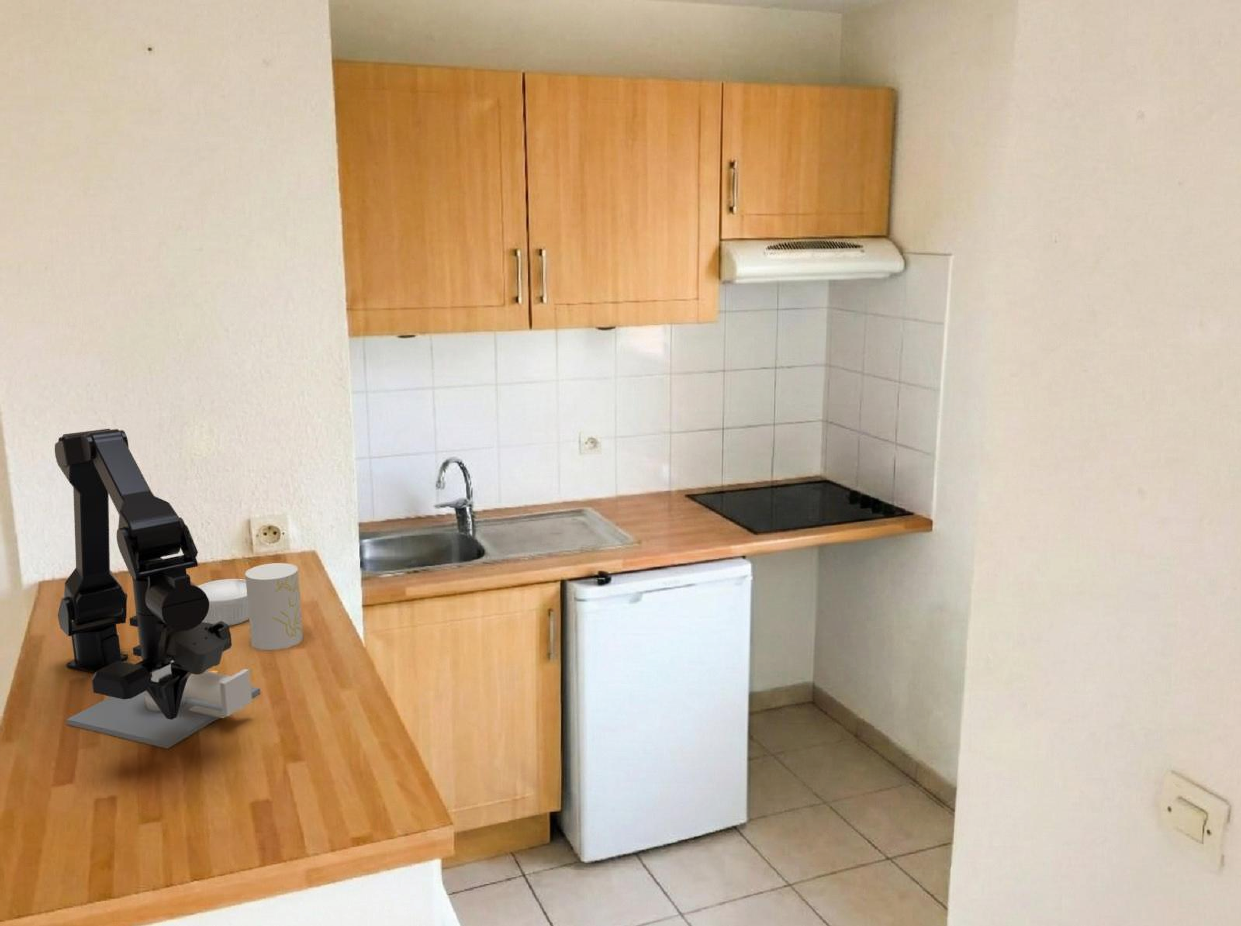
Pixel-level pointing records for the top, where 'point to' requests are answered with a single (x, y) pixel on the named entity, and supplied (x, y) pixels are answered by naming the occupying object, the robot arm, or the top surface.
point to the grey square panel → (148, 719)
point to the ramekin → (226, 601)
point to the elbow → (220, 689)
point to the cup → (274, 606)
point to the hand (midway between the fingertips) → (171, 718)
